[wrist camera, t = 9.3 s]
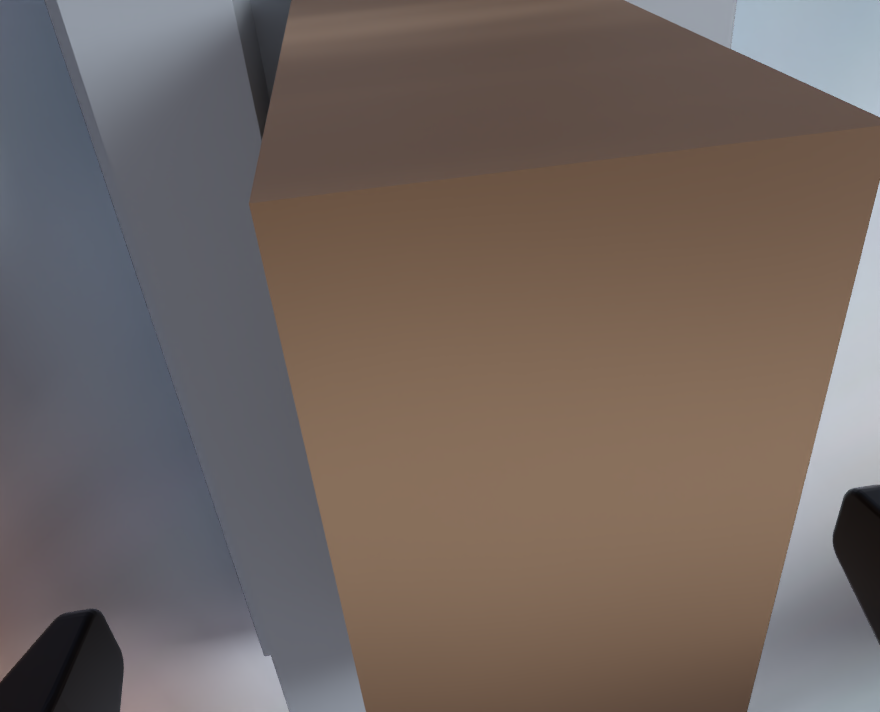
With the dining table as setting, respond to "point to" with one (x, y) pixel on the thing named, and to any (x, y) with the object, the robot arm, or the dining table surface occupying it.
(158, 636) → the dining table surface
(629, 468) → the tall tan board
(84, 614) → the robot arm
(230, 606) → the dining table surface
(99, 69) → the display stand
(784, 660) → the dining table surface
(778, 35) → the dining table surface
